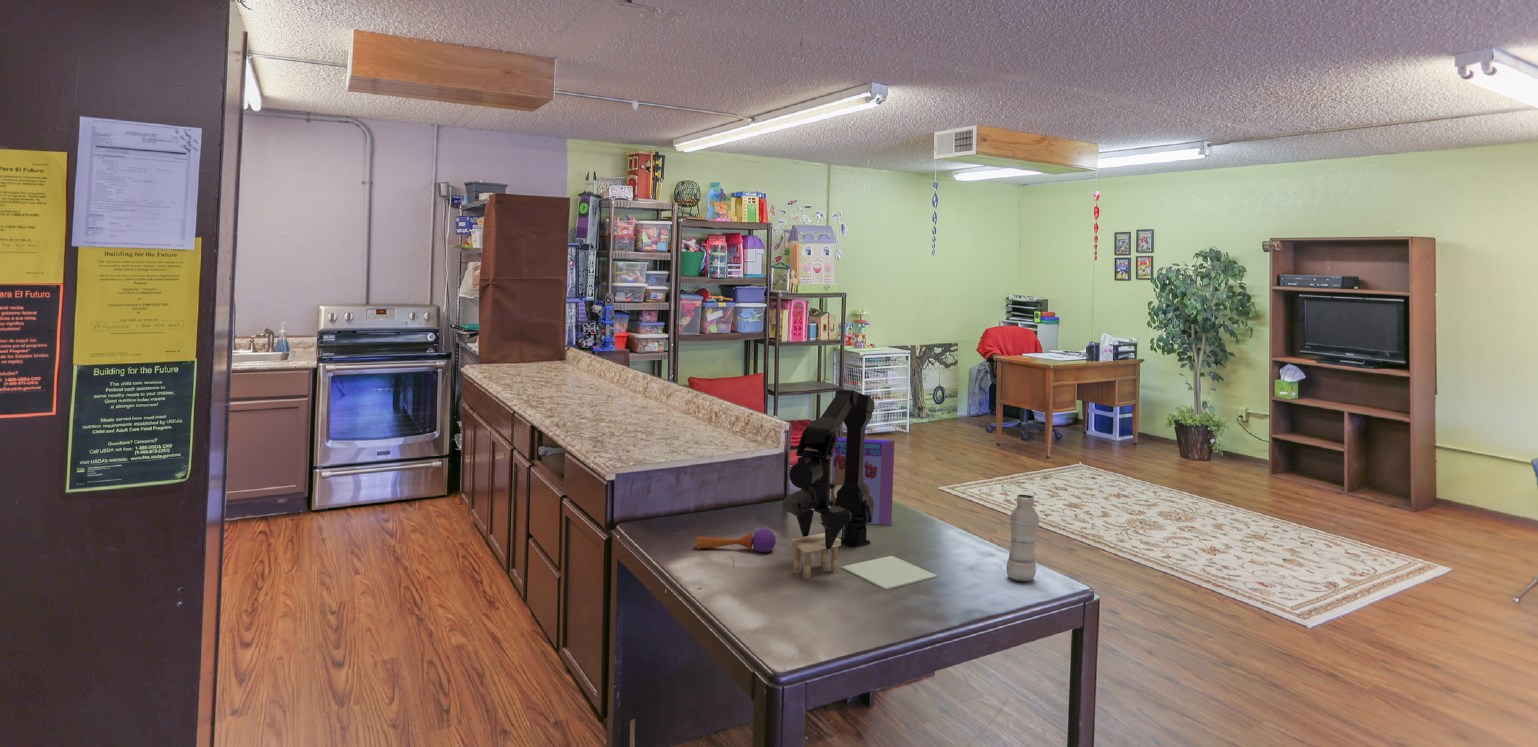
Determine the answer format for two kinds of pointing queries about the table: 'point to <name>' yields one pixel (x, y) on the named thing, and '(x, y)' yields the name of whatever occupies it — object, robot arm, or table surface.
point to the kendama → (742, 541)
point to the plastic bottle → (1023, 540)
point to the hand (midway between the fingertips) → (816, 543)
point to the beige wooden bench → (811, 545)
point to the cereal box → (869, 476)
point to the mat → (889, 572)
